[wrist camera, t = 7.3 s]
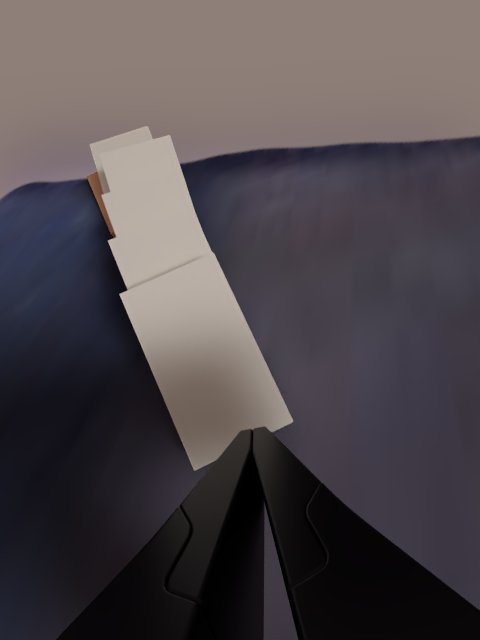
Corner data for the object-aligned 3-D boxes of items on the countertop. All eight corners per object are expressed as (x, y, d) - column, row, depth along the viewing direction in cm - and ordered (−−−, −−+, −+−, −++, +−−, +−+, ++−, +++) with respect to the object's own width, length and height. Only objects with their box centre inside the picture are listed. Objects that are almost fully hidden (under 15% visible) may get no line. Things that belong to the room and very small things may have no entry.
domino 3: (229, 298, 18) (177, 168, 19) (150, 329, 18) (101, 195, 18) (230, 302, 19) (181, 182, 20) (157, 331, 19) (111, 207, 20)
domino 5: (179, 205, 22) (147, 125, 25) (113, 228, 22) (89, 144, 25) (184, 218, 23) (153, 141, 26) (122, 240, 23) (99, 159, 26)
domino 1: (293, 421, 14) (213, 252, 15) (194, 470, 13) (119, 293, 14) (287, 414, 15) (215, 262, 16) (198, 458, 15) (130, 299, 16)
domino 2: (256, 353, 16) (191, 206, 17) (168, 392, 15) (107, 240, 16) (255, 352, 17) (195, 219, 18) (175, 388, 17) (118, 250, 18)
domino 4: (208, 253, 20) (169, 134, 21) (135, 275, 20) (99, 153, 20) (210, 260, 22) (174, 149, 22) (142, 281, 21) (108, 167, 22)
